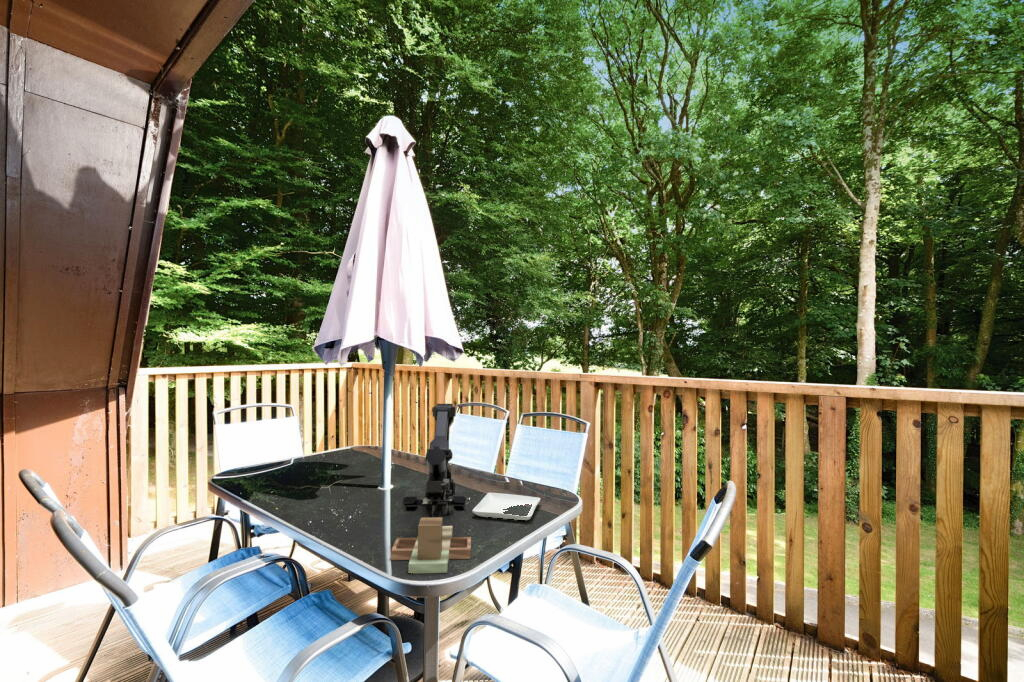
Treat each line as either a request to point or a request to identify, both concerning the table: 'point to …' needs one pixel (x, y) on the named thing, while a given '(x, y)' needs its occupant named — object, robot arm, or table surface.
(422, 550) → the walnut block
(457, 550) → the track
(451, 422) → the robot arm
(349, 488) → the table surface
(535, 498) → the salad plate
